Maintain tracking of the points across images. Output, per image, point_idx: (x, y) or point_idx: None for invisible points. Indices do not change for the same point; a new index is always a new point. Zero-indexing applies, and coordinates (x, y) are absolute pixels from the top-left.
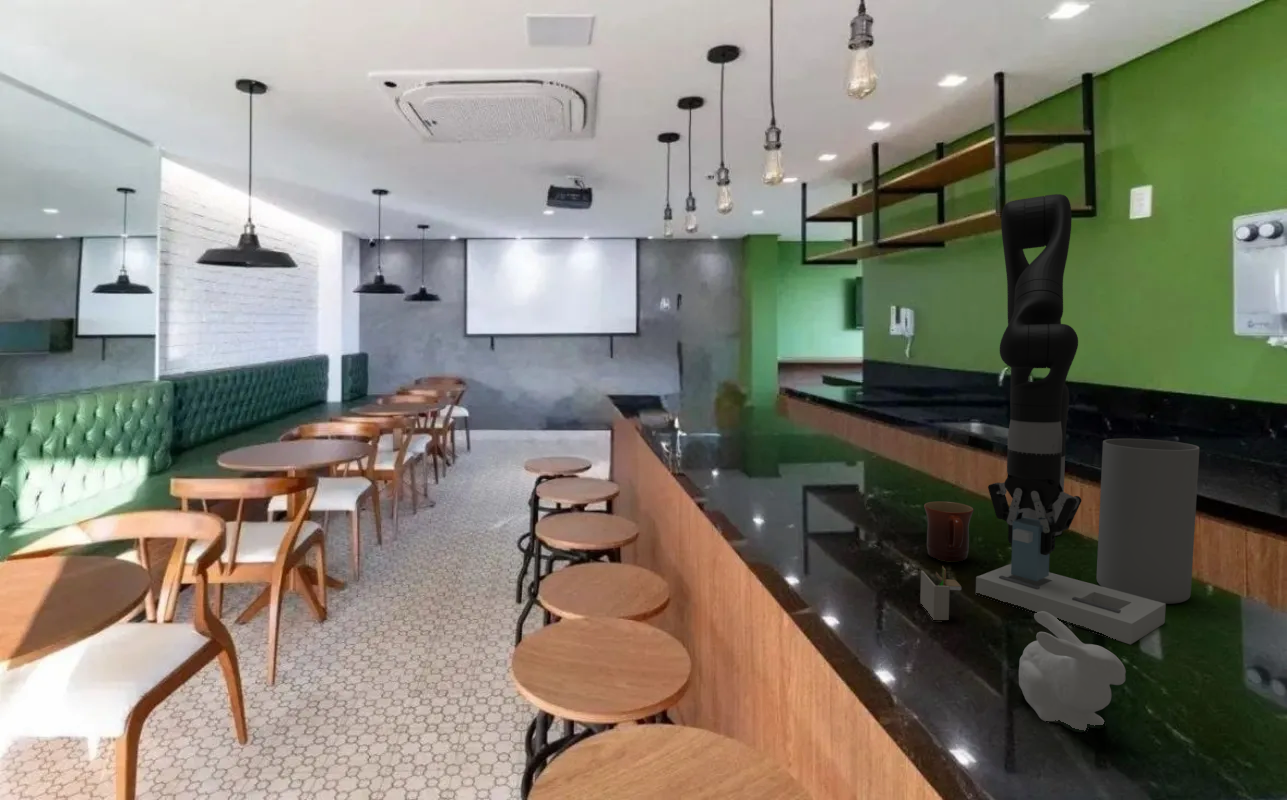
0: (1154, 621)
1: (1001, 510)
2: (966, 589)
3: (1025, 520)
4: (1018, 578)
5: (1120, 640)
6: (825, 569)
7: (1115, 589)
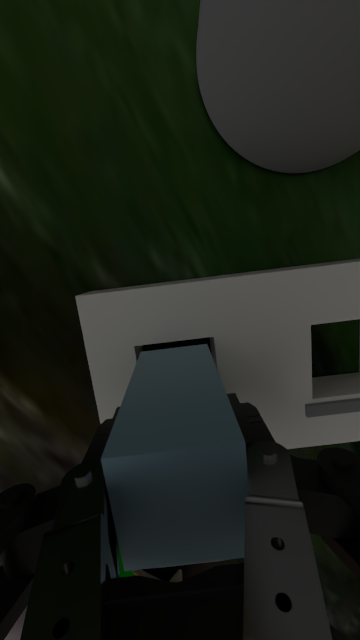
0: None
1: (23, 610)
2: (90, 434)
3: (146, 511)
4: (137, 351)
5: None
6: None
7: (282, 170)
